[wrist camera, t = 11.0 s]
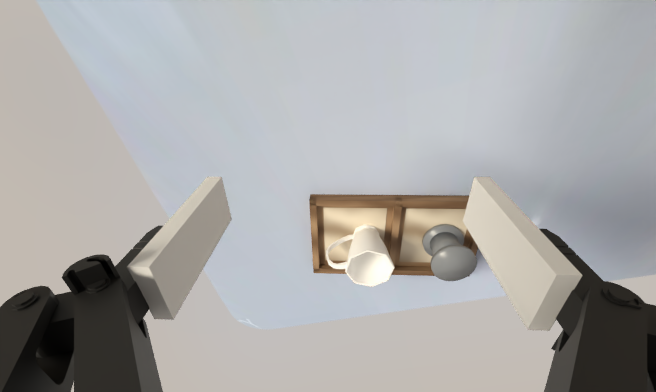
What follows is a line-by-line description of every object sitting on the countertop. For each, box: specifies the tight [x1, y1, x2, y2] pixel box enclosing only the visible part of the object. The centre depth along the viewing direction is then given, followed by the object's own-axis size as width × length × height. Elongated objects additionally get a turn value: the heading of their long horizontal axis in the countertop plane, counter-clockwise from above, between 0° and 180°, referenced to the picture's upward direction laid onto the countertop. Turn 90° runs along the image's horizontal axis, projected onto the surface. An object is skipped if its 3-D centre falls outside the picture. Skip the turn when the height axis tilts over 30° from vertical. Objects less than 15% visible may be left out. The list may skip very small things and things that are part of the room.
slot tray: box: [309, 195, 478, 276], centre depth 48 cm, size 15×27×2 cm, turn 91°
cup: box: [326, 224, 395, 287], centre depth 45 cm, size 7×10×8 cm
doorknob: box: [422, 224, 477, 281], centre depth 45 cm, size 6×6×6 cm
